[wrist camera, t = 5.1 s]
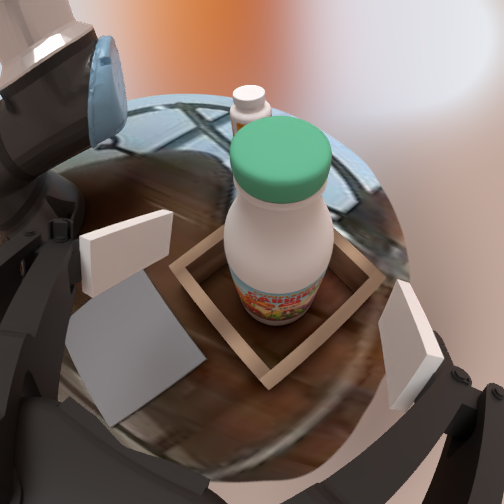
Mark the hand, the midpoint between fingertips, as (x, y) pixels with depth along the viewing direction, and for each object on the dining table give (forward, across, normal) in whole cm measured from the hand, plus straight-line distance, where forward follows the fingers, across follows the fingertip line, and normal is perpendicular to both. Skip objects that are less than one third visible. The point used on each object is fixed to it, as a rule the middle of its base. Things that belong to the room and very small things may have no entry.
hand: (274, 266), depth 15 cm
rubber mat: (+4, -14, -16) cm, 22 cm away
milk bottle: (+13, -1, -8) cm, 15 cm away
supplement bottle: (+26, -11, +6) cm, 29 cm away
